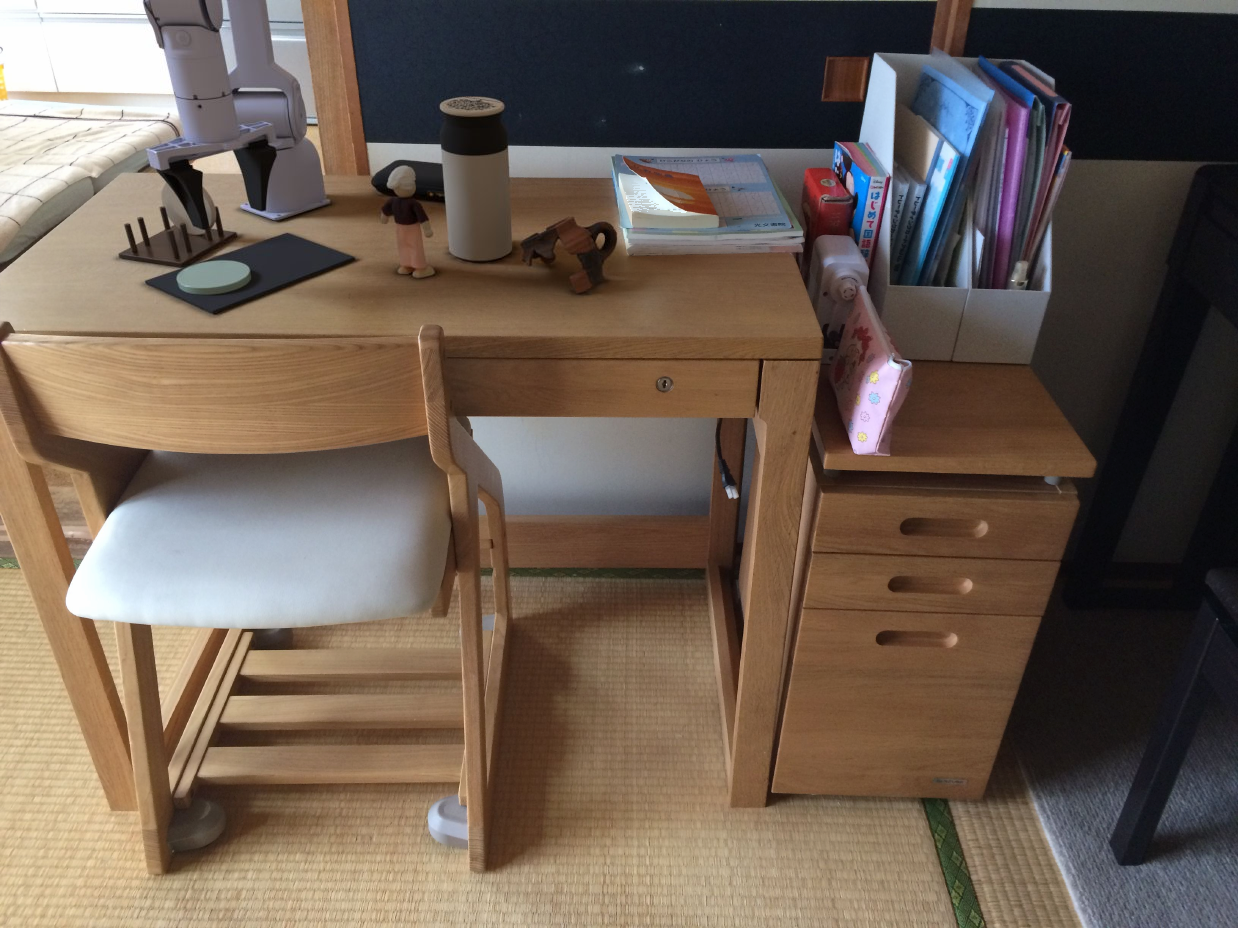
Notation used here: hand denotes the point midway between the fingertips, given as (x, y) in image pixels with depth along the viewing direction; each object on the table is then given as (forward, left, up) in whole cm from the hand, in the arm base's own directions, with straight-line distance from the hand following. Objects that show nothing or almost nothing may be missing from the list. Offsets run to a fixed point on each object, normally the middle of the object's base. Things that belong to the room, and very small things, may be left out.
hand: (230, 218), depth 106 cm
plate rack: (-1, -14, -7) cm, 15 cm away
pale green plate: (+3, 0, -6) cm, 7 cm away
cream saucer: (-4, -15, -3) cm, 15 cm away
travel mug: (-24, +16, -7) cm, 30 cm away
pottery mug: (-25, +30, -7) cm, 40 cm away
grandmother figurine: (-14, +14, -7) cm, 21 cm away
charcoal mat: (-2, 0, -7) cm, 7 cm away
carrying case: (-36, -6, -7) cm, 37 cm away
